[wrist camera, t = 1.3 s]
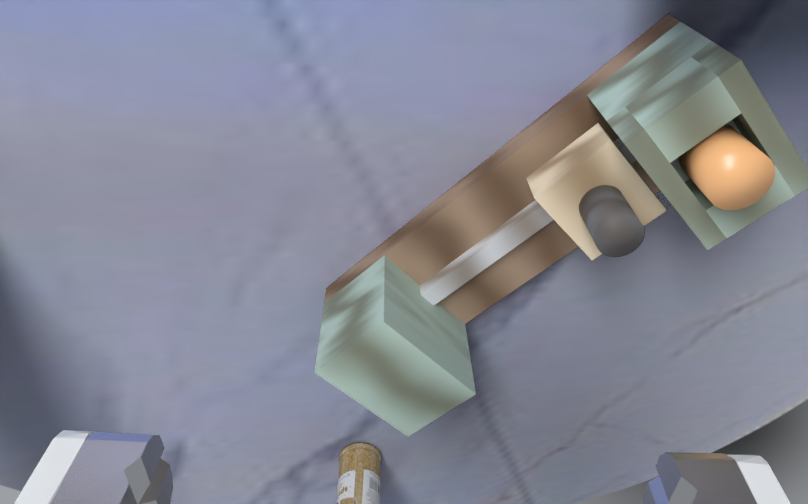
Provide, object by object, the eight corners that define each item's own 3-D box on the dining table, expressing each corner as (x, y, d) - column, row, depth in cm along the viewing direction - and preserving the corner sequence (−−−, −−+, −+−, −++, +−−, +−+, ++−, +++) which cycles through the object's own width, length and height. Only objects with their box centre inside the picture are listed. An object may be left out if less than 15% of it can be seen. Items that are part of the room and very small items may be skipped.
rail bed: (405, 349, 56) (408, 436, 48) (326, 288, 52) (314, 372, 44) (736, 118, 44) (815, 182, 36) (668, 13, 40) (741, 59, 32)
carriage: (577, 230, 47) (608, 295, 40) (523, 170, 44) (547, 230, 37) (645, 182, 44) (691, 243, 38) (593, 116, 41) (632, 170, 35)
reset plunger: (696, 188, 38) (725, 221, 35) (667, 149, 36) (695, 181, 33) (750, 151, 37) (786, 183, 33) (723, 110, 35) (757, 139, 32)
